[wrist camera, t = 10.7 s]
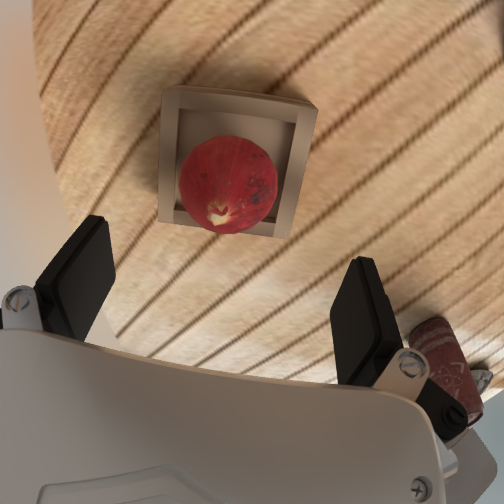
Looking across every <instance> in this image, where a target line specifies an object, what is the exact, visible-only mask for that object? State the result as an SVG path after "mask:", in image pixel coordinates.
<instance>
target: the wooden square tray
mask: <svg viewBox="0 0 504 504" xmlns="http://www.w3.org/2000/svg"><path fill="white" fill-rule="evenodd" d="M317 113H318V109H317V108H316V107H315V106H314V105H313V104H312V103H311V102H308V101H303V100H298V99H293V98H287V97H282V96H276V95H270V94H263V93H256V92H249V91H241V90H233V89H224V88H214V87H203V86H190V85H173V86H171V87H168V88H166V89H163V90H162V101H161V116H160V135H159V163H158V222H162V223H170V224H178V225H186V226H194V227H201V228H203V227H202V226H201V225H200V224H198V223H197V222H196V221H195V220H193V219H192V218H191V217H190V215H189V214H188V212H187V211H186V209H185V207H184V206H183V204H182V201H181V196H180V191H179V186H178V183H179V177H180V173H181V169H182V164H183V161H184V160H185V159H186V158H187V156H188V155H189V154H190V152H191V151H192V150H193V149H194V147H196V146H198V145H199V144H201V143H203V142H205V141H207V140H209V139H211V138H213V137H216V136H228V135H234V136H238V137H241V138H245V139H248V140H251V141H252V142H254V143H255V144H256V145H258V146H259V147H261V148H262V149H264V150H265V151H266V152H267V153H268V155H269V157H270V159H271V161H272V163H273V164H274V166H275V168H276V170H277V181H278V192H277V196H276V198H275V201H274V203H273V205H272V207H271V209H270V211H269V213H268V215H267V216H266V217H265V218H264V219H262V220H261V221H260V222H259V223H257V224H256V225H255V226H254V227H253V228H250V229H247V230H245V231H242V232H239V233H246V234H253V235H260V236H268V237H275V238H282V239H289V235H290V231H291V226H292V222H293V218H294V214H295V210H296V206H297V202H298V197H299V193H300V189H301V185H302V180H303V176H304V172H305V167H306V163H307V159H308V154H309V150H310V145H311V141H312V136H313V132H314V127H315V123H316V118H317Z"/></svg>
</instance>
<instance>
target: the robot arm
mask: <svg viewBox="0 0 504 504" xmlns="http://www.w3.org/2000/svg"><path fill="white" fill-rule="evenodd" d="M115 277H116V273H115V267H114V261H113V254H112V248H111V240H110V233H109V225H108V222H107V221H105V219H104V217H102V216H96V215H89V216H88V217H87V218H86V219H85V220H84V221H83V222H82V224H81V225H80V226H79V227H78V228H77V229H76V231H75V232H74V233H73V234H72V235H71V237H70V238H69V239H68V240H67V242H66V243H65V244H64V245H63V247H62V248H61V249H60V250H59V252H58V253H57V254H56V256H55V257H54V258H53V259H52V261H51V262H50V263H49V265H48V266H47V267H46V269H45V270H44V271H43V273H42V274H41V275H40V277H39V278H38V279H37V281H36V282H35V283H36V284H35V286H34V287H33V288H31V287H29V286H23V285H22V286H17V287H15V288H13V289H11V290H10V291H9V292H7V294H6V295H5V296H4V298H3V300H2V308H0V504H474V503H475V502H476V501H477V500H478V499H479V497H480V496H481V495H482V494H483V493H484V491H485V490H486V489H487V488H488V487H489V485H490V484H491V483H492V482H493V481H494V479H495V477H496V475H497V463H496V461H495V459H494V458H493V456H492V455H491V453H490V452H489V450H488V449H487V447H486V446H485V445H484V443H483V442H482V440H481V439H480V438H479V436H478V435H477V433H476V432H475V430H474V429H473V428H471V429H469V428H468V427H467V425H468V415H467V411H466V410H465V408H464V406H463V405H462V404H461V403H460V402H458V401H457V400H456V399H455V398H453V397H452V396H451V395H450V394H448V393H447V392H446V391H445V390H444V389H442V388H441V387H440V386H439V385H437V384H436V383H435V382H434V381H432V380H431V379H430V378H429V377H428V376H429V372H430V368H429V364H428V361H427V360H426V358H425V357H424V356H423V355H422V354H421V353H420V352H419V351H417V350H415V349H412V348H404V346H403V343H402V339H401V336H400V332H399V329H398V326H397V322H396V319H395V316H394V313H393V310H392V307H391V304H390V301H389V298H388V296H387V295H386V294H385V291H384V289H383V286H382V283H381V280H380V277H379V274H378V271H377V268H376V265H375V263H374V260H373V259H372V258H367V257H361V256H358V257H357V258H356V259H352V261H351V263H350V265H349V267H348V270H347V272H346V275H345V277H344V279H343V282H342V284H341V287H340V289H339V291H338V293H337V296H336V298H335V300H334V303H333V305H332V307H331V310H330V321H331V329H332V336H333V344H334V352H335V361H336V370H337V379H338V384H327V383H315V382H304V381H293V380H283V379H274V378H265V377H257V376H250V375H242V374H235V373H228V372H222V371H215V370H209V369H203V368H198V367H192V366H187V365H181V364H176V363H171V362H166V361H161V360H156V359H152V358H147V357H143V356H138V355H134V354H129V353H125V352H121V351H117V350H113V349H109V348H105V347H101V346H97V345H94V344H90V343H86V342H84V341H85V338H86V336H87V334H88V332H89V330H90V328H91V326H92V324H93V322H94V320H95V318H96V316H97V314H98V312H99V310H100V308H101V306H102V304H103V302H104V301H105V299H106V297H107V295H108V293H109V291H110V289H111V287H112V286H113V284H114V282H115Z"/></svg>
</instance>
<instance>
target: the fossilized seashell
mask: <svg viewBox="0 0 504 504" xmlns="http://www.w3.org/2000/svg"><path fill="white" fill-rule="evenodd" d="M471 374H472V376H473V379H474V381H475V384H476V386H477V389H478V392H479V394H480V395H481V394H482V393H483V392H484V391H485V390H486V388H487V387H488V386H489V384H490V382H491V380H492V378H493V373H492V372H491V371H487V370H479V369H478V370H471Z"/></svg>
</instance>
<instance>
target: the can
mask: <svg viewBox="0 0 504 504" xmlns="http://www.w3.org/2000/svg"><path fill="white" fill-rule="evenodd" d="M409 347H410V348H412V349H415V350H417V351H419V352H420V353H421V354H422V355H423V356H424V357H425V358H426V360H427V361H428V364H429V368H430V372H429V376H428V377H429V378H430V379H431V380H432V381H434V382H435V383H436V384H437V385H439V386H440V387H441V388H442V389H444V390H445V391H446V392H447V393H448V394H450V395H451V396H452V397H453V398H455V399H456V400H457V401H458V402H460V403H461V404H462V405H463V406H464V408H465V410H466V411H467V415H468V425H467V427H469V426H471V425H473V424H474V423H476V422H477V421H478V420H479V419H480V418H481V417H482V416H483V408H484V405H483V402H482V400H481V397H480V394H479V392H478V389H477V386H476V384H475V381H474V379H473V376H472V374H471V371H470V369H469V366H468V364H467V362H466V359H465V357H464V355H463V352H462V350H461V348H460V346H459V343H458V341H457V339H456V337H455V335H454V332H453V330H452V328H451V326H450V324H449V322H447V321H446V320H444V319H442V318H434V319H430V320H427V321H425V322H423V323H421V324H420V325H418V326H417V327H416V328H415V329H414V330H413V332H412V333H411V336H410V339H409Z"/></svg>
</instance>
